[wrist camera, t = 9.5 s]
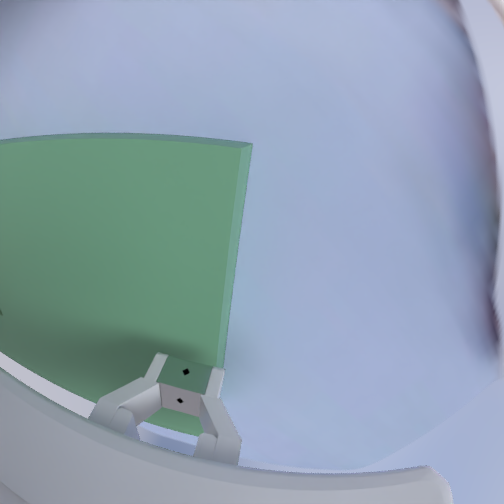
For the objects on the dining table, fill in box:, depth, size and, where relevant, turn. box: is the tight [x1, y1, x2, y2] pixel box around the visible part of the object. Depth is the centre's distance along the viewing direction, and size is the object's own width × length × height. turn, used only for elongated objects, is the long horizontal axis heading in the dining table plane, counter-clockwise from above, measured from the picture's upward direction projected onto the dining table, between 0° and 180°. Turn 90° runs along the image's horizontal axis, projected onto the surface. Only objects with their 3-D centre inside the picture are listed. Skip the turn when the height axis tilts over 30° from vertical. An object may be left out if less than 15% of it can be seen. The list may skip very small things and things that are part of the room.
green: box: [0, 133, 253, 436], centre depth 13 cm, size 18×26×6 cm
